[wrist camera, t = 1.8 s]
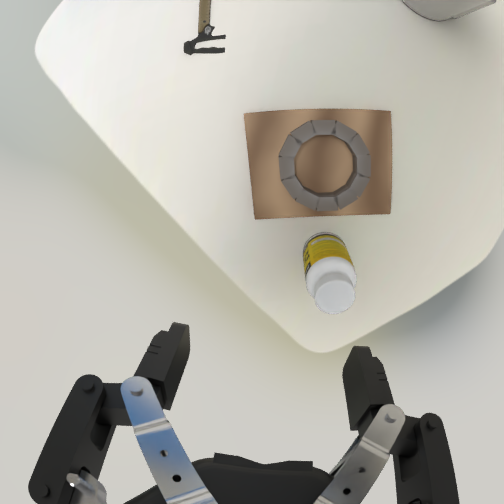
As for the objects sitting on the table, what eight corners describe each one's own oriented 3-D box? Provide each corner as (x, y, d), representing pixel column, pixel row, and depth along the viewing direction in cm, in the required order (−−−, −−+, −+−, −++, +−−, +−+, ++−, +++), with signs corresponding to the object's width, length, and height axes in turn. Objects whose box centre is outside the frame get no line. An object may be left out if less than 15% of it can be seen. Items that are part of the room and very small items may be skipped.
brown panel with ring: (387, 111, 26) (397, 110, 23) (387, 211, 31) (396, 219, 28) (244, 113, 28) (241, 112, 25) (255, 216, 33) (253, 225, 30)
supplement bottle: (298, 236, 34) (303, 279, 25) (342, 227, 33) (361, 267, 24) (306, 274, 36) (312, 324, 27) (347, 266, 35) (364, 313, 26)
